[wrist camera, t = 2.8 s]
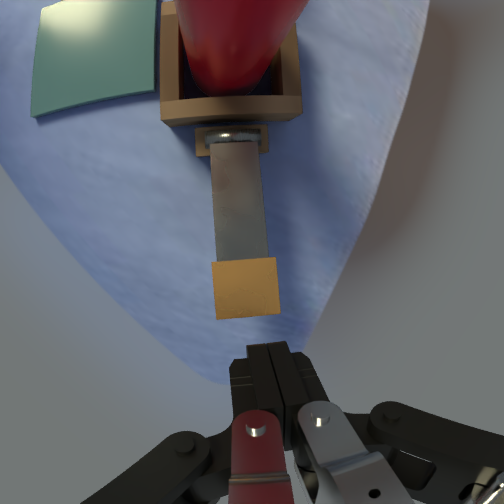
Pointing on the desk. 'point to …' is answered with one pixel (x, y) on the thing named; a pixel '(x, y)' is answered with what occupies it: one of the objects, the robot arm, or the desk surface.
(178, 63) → the holder
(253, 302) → the lever
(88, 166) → the desk surface
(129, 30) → the coaster
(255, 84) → the bottle
